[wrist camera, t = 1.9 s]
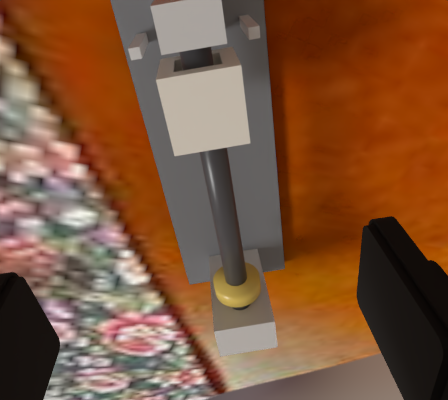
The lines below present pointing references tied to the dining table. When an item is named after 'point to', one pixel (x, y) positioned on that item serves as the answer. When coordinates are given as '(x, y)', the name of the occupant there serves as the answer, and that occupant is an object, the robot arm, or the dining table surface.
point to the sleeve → (204, 103)
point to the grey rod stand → (215, 160)
